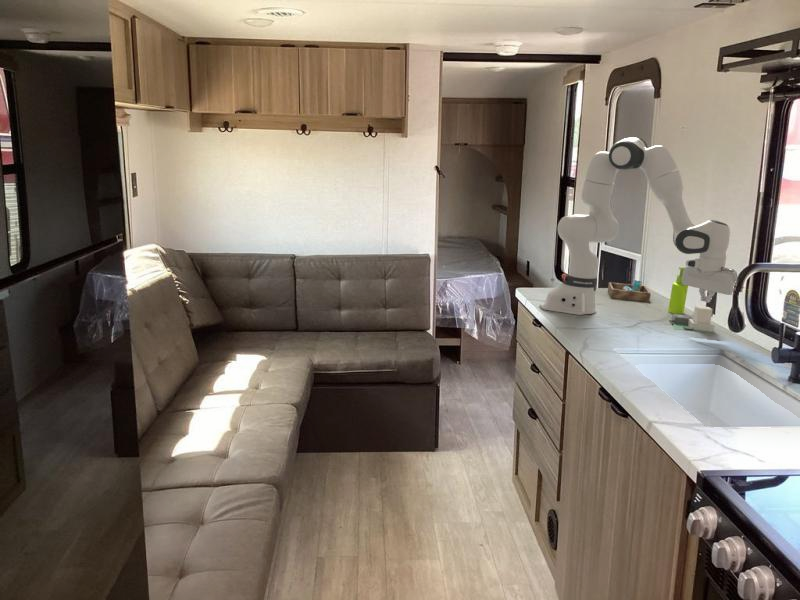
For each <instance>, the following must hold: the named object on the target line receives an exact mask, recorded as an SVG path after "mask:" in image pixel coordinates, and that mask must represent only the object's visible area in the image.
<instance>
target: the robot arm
mask: <svg viewBox="0 0 800 600" xmlns="http://www.w3.org/2000/svg"><path fill="white" fill-rule="evenodd" d="M635 169H640V170H641V171H642V172H643V173H644V175H645V179H646V181H647V183H648V186H649V188H650V190H651V191H652V193H653V194H654V196H655V198H656V199H657V200H658V201H659V202H660V203H661V204H662V205H663V206H664V208H665V210H666V212H667V215H668V217H669V220H670V222H671V225H672V227H673V235H672V242H673V244H674V246H675V248H676V249H677V250H678V251H679V252H680V253H682V254H685V255H694V254H699V258H695V259H690V260H689V259H688V260H686V261H685V267H686V268H685V269H684V271H683V275H682V283H683V285H687V286H688V287H692V288H697V289H699V290H698V292H699V295H700V301H701V302H704V303H711V300H712V298H713V297H714V296H715V294H716V293H718V294H723V295H726V296H727V295H728V296H732V292H733V286H734V284H735V281H736V282H737V280H736V279H738V273H737V271H736V270H735V269H733V268H728V267H726V261H727V255H726V254H727V250H728V248H729V244H730V235H731V231H730V230H731V229H730V227H729V225H728V224H726V223H725V222H723V221H719V220H714V219H708V220H707V221H705V222H703V223H700V224H697V225H694V224H693V222H691V220H690V217H689V215H688V212H687V210H686V207H685V205H684V201H683V190H684V188H683V187H684V186H683V181H682V175H681V174H680V170H679V168H678V166H677V163H676V161H675V160H674V157H673V156H672V154H671V153H670V152H669V149H668V148H667V147H666V146H664V145H652V146H651V147H648V145H647V142H646V141H645V140H643V139H642V138H641V137H637V136H632V137H625V138H623V139H621V140H618V141H616V142H614V144H613V145H612V146H611V147H610V150H609V151H598V152H597V153H595V154H594V155H592V158H591V159H590V161H589V165H588V167H587V171H586V173H585V177H584V183H583V187H582V190H581V194H580V195H581V201H582V202H583V203H584V205H586V206H588V209H589V213H588V214H570V215H566V216H563V217H561V218H560V220H559V222H558V224H557V234H558V236H559V238H560V239H561V240H562V241H564V244H565V245H566V246H567V248H568V252H569V264H568V265H569V267H568V269H569V270H568V274H566V273H562V275H561V279H562V283H560V284H559V285H557V286H555V287H553V288H551V289H550V290H549V291H548V293H547V295H546V298H545V300H542V301H541V302H540V305H539V308H541V309H542V310H544V311H550V312H557V313H564V314H570V315H571V314H572V315H578V316H584V315H590V314H595V313H597V309H596V291H597V287H598V286H597V285H598V277H597V276H598V269H599V268H598V267H599V263H600V262H599V257H598V256H597V255H596V254H595V253H594V252H592V251H591V250H590V243H598V244H599V243H607V242H611V241H614V240H615V239H616V238H617V237H618V235H619V232H620V225H619V222H618V221H617V218H616V217H614V215H613V213H612V210H611V208H612V207H611V199H612V195H613V189H614V186H615V181H616V177H617V174H618V172H619V171H620V170H624V171H628V170H635ZM706 292H707V296H706Z"/></svg>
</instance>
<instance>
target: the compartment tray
mask: <svg viewBox="0 0 800 600" xmlns="http://www.w3.org/2000/svg"><path fill="white" fill-rule="evenodd" d="M671 327H673V329H674V330H675V331H676V330H677V331H685V332H696V333H704V334H712V335H715V334H716V332H715V331H714V330H715V324H714V323H712V321H710V324H701V323H694V322H693V318H690V319H689V321H688V325H684V324H675V323H674V325H672V324H671Z"/></svg>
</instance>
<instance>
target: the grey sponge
mask: <svg viewBox="0 0 800 600" xmlns="http://www.w3.org/2000/svg"><path fill="white" fill-rule="evenodd" d="M671 315H672V316H671V319H668V322H669V323H670V324H671V326H672V325H674V323H675V324H684V325H688V321H689V319H691V318H690V316H689V315H688V314H674V313H671Z"/></svg>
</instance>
